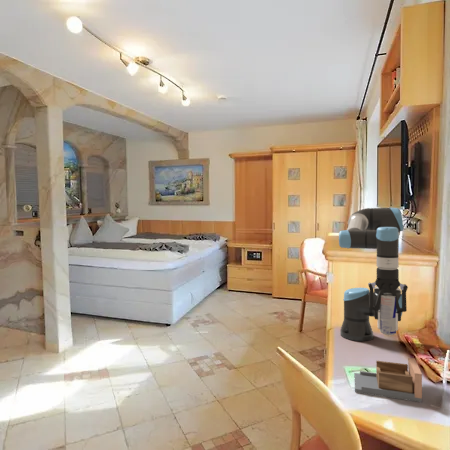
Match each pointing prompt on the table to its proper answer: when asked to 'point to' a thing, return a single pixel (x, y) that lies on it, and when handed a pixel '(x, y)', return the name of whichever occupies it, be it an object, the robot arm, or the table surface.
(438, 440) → the table surface
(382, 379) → the open wooden box
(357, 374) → the board
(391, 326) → the beverage can
